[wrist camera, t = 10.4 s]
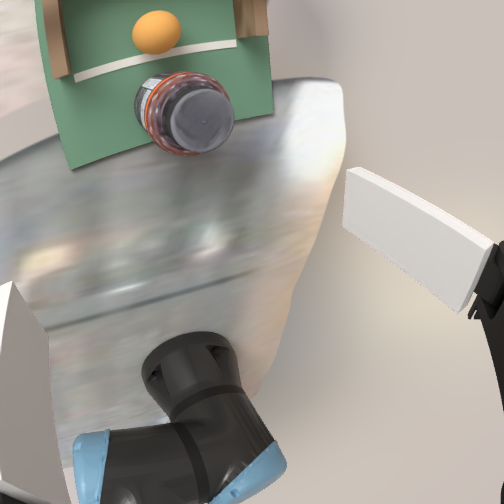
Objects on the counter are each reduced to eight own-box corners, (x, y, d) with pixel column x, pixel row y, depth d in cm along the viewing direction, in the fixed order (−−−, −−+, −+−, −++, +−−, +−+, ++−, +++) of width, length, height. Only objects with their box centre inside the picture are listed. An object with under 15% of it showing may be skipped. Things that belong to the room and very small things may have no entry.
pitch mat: (271, 112, 31) (274, 113, 31) (70, 168, 24) (70, 170, 24) (254, -73, 17) (256, -74, 17) (33, -43, 11) (32, -45, 10)
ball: (187, 11, 18) (181, 10, 20) (134, 11, 16) (134, 10, 19) (181, 58, 20) (175, 50, 23) (129, 59, 19) (130, 51, 21)
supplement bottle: (205, 82, 26) (266, 93, 18) (182, 140, 28) (230, 179, 20) (146, 63, 22) (177, 58, 14) (123, 125, 24) (141, 158, 16)
